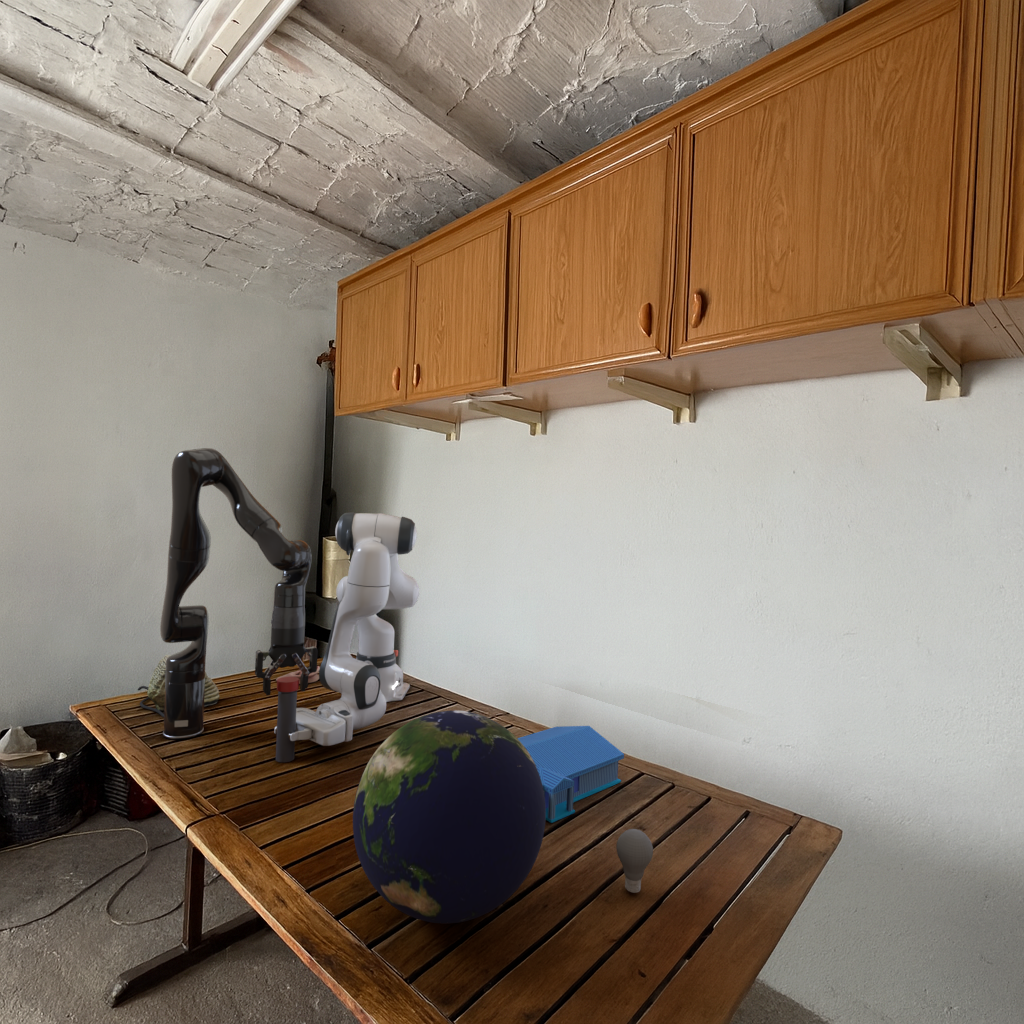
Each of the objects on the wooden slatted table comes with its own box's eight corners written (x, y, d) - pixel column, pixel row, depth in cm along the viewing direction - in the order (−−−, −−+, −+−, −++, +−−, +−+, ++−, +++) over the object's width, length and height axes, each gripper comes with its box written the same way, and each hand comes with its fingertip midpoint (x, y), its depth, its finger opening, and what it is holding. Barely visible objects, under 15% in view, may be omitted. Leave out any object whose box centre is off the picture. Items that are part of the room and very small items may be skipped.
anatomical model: (271, 670, 211) (289, 662, 222) (270, 682, 211) (289, 673, 222) (307, 674, 208) (324, 665, 220) (306, 686, 208) (324, 677, 220)
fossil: (144, 707, 182) (145, 655, 182) (212, 696, 194) (213, 647, 194) (151, 716, 175) (153, 662, 175) (221, 703, 188) (223, 653, 188)
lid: (272, 691, 150) (273, 681, 149) (283, 685, 154) (283, 675, 154) (292, 693, 149) (292, 683, 149) (302, 687, 154) (302, 677, 154)
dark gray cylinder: (297, 756, 154) (300, 680, 153) (289, 763, 149) (292, 685, 149) (281, 754, 154) (284, 679, 154) (272, 761, 150) (275, 684, 150)
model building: (505, 843, 118) (507, 790, 118) (429, 794, 136) (431, 748, 136) (632, 786, 145) (634, 743, 144) (555, 752, 163) (557, 713, 163)
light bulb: (610, 879, 108) (613, 822, 108) (644, 879, 109) (647, 822, 109) (619, 902, 102) (622, 840, 102) (655, 901, 103) (658, 840, 103)
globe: (306, 934, 92) (314, 729, 91) (413, 836, 119) (420, 678, 119) (495, 1005, 80) (505, 771, 80) (565, 878, 108) (573, 704, 108)
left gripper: (259, 629, 144) (256, 701, 144) (322, 625, 151) (320, 693, 152) (253, 622, 150) (250, 691, 150) (314, 619, 158) (311, 684, 158)
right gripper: (306, 698, 168) (258, 710, 157) (356, 716, 156) (308, 731, 145) (306, 722, 168) (258, 736, 157) (355, 742, 156) (307, 759, 145)
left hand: (285, 692), depth 151 cm, fingers open, 7 cm apart
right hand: (282, 734), depth 151 cm, fingers closed on dark gray cylinder, 4 cm apart
